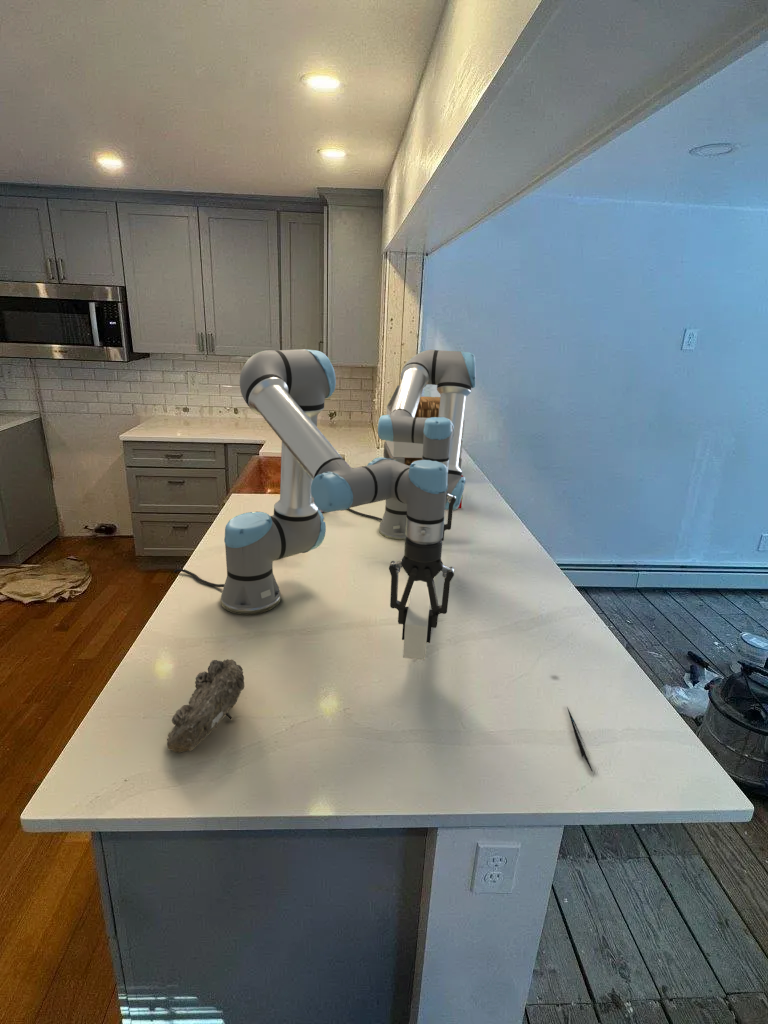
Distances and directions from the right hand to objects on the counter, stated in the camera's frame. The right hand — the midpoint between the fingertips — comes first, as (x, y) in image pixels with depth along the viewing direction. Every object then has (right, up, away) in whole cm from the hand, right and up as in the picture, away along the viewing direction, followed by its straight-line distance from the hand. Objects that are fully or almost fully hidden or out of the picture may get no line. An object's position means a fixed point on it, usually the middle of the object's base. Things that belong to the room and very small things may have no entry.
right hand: (428, 549), depth 168 cm
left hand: (-6, -16, -46) cm, 49 cm away
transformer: (+4, +30, +107) cm, 111 cm away
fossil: (-46, -28, -60) cm, 80 cm away
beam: (-3, -9, -23) cm, 25 cm away
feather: (+24, -30, -56) cm, 68 cm away
